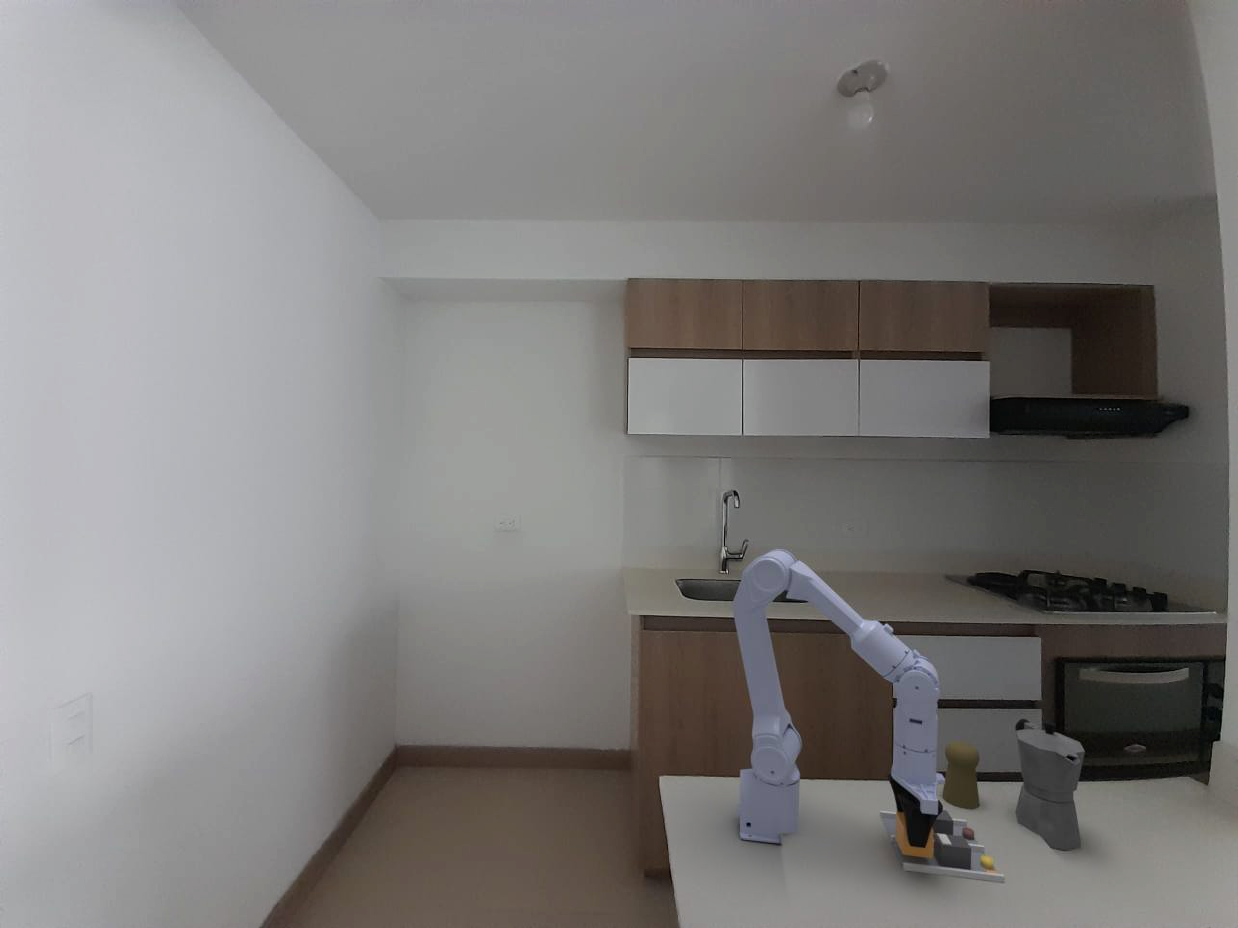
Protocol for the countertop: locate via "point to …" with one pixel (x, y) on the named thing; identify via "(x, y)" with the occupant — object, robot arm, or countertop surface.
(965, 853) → the toggle
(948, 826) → the toggle
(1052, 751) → the coffeepot
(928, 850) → the block
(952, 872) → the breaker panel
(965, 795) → the cork
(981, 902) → the countertop surface
